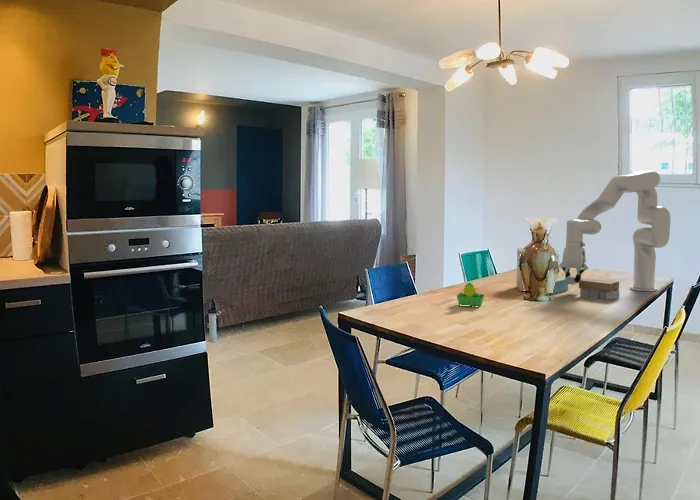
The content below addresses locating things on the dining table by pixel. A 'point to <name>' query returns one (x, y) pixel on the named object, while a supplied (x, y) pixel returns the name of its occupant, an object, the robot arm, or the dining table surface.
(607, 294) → the bar
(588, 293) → the bar
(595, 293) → the bar
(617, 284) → the board
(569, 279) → the bar
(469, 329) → the dining table surface
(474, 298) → the fruit basket
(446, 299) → the dining table surface
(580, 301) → the dining table surface
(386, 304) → the dining table surface
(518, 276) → the cracker box
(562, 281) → the block
